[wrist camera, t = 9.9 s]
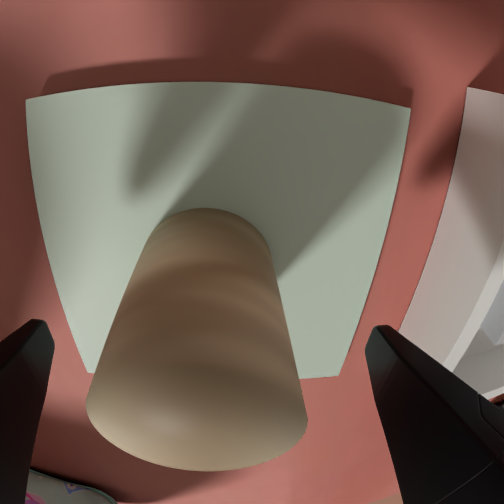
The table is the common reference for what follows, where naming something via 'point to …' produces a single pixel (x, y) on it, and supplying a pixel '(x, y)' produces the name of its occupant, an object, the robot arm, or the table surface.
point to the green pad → (218, 193)
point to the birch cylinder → (200, 351)
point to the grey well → (468, 258)
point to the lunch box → (61, 492)
